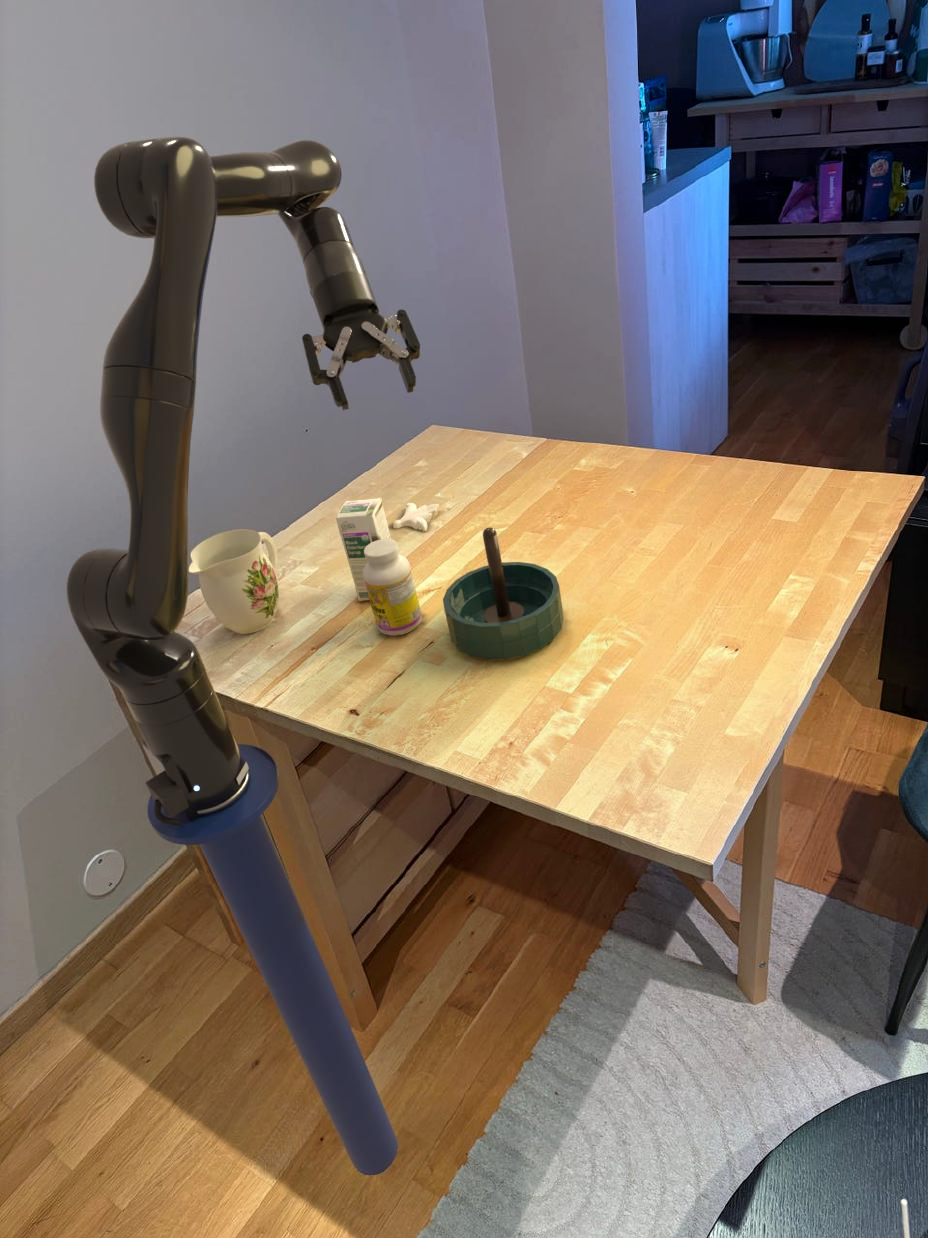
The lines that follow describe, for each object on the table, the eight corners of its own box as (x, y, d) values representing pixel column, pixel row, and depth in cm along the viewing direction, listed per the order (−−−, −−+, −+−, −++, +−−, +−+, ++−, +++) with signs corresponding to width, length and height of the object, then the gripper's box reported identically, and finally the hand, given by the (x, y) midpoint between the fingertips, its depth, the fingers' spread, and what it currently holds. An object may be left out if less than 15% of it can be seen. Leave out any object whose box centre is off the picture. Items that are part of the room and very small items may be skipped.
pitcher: (315, 587, 145) (291, 510, 138) (254, 656, 132) (224, 574, 124) (258, 583, 149) (232, 508, 142) (193, 649, 136) (160, 570, 129)
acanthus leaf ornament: (408, 509, 163) (406, 499, 162) (443, 510, 160) (441, 500, 159) (390, 529, 157) (387, 520, 156) (425, 531, 154) (423, 521, 153)
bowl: (505, 678, 117) (498, 640, 114) (428, 637, 128) (420, 602, 125) (587, 619, 125) (583, 582, 122) (508, 586, 136) (502, 551, 132)
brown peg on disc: (505, 641, 123) (487, 543, 115) (477, 628, 127) (458, 532, 118) (534, 621, 126) (519, 524, 117) (506, 609, 129) (489, 513, 121)
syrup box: (357, 602, 139) (333, 517, 131) (367, 581, 144) (344, 498, 136) (393, 600, 138) (371, 514, 130) (402, 579, 143) (381, 495, 135)
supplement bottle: (371, 621, 134) (350, 545, 127) (413, 605, 136) (394, 529, 129) (386, 643, 129) (365, 565, 122) (429, 626, 130) (411, 548, 123)
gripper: (283, 284, 114) (321, 399, 111) (392, 256, 116) (433, 368, 113) (289, 317, 121) (325, 426, 118) (392, 291, 123) (430, 397, 120)
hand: (378, 398), depth 116 cm, fingers open, 8 cm apart
